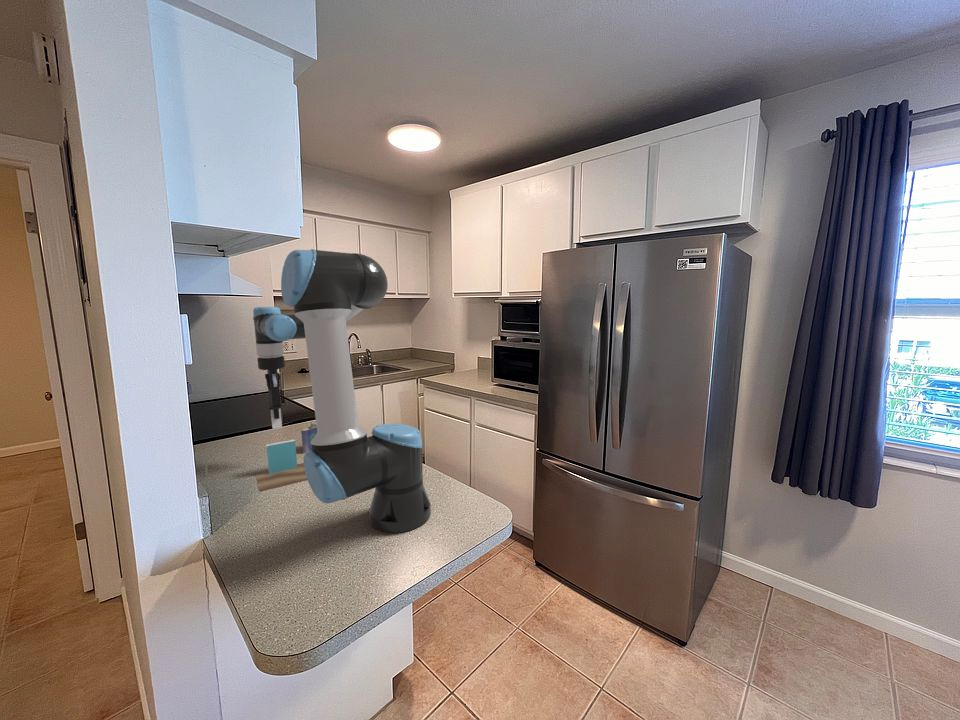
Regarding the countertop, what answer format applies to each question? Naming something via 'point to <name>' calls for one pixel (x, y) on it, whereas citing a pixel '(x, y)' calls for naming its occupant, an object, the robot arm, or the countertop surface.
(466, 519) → the countertop surface
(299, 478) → the board
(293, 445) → the tile
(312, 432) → the flask
